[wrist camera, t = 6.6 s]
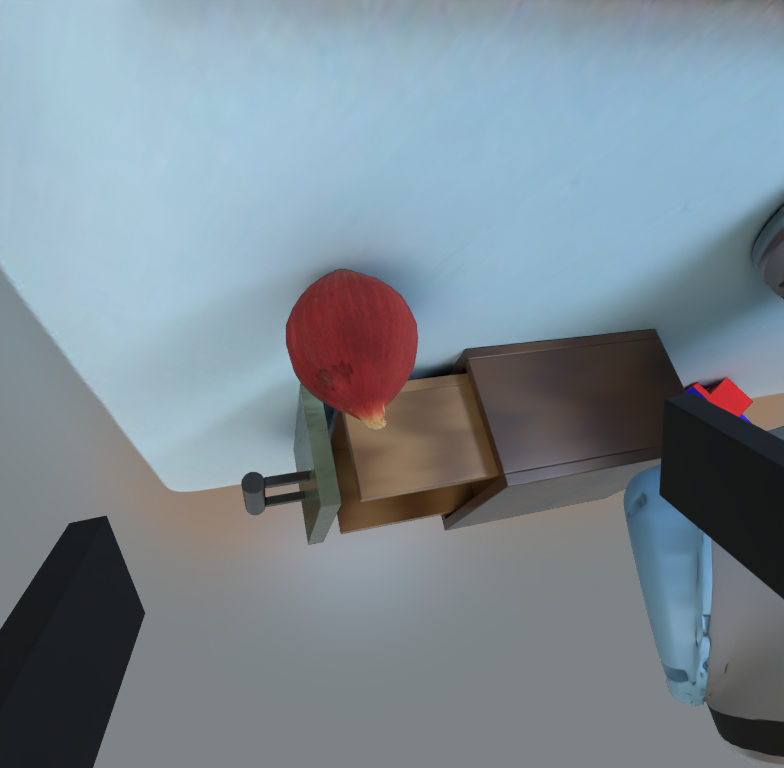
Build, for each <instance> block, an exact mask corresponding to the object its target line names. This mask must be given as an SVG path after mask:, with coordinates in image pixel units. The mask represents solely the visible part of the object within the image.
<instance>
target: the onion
mask: <svg viewBox="0 0 784 768" xmlns="http://www.w3.org/2000/svg"><path fill="white" fill-rule="evenodd" d="M417 343H418V335H417V324H416V321H415V319H414V317H413V315H412V312H411V310H410V308H409V307H408V305H407V304H406V302H405V300H404V299H403V297H402V296H401V295H400V294H399V293H398V292H396V291H395V290H394V289H393V288H392V287H390V286H389V285H387V284H385V283H384V282H382V281H380V280H378V279H377V278H374V277H371V276H367V275H364V274H360V273H357V272H354V271H351V270H346V269H339V270H335V271H334V272H332V273H329V274H327V275H325V276H324V277H322V278H321V279H319V280H318V281H316V282H315V283H313V284H312V285H310V286H309V287H308V288H307V290H306V291H305V292H304V293H303V294H302V295H301V296H300V298H299V299H298V301H297V302H296V304H295V306H294V307H293V309H292V311H291V314H290V316H289V319H288V321H287V324H286V345H287V349H288V353H289V356H290V360H291V363H292V366H293V369H294V372H295V374H296V376H297V377H298V379H299V380H300V382H301V384H302V385H303V386H304V387H305V388H306V389H307V390H308V391H309V392H310V394H312V395H313V396H314V397H316V398H317V399H318V400H320V401H321V402H323V403H325V404H326V405H328V406H330V407H332V408H334V409H336V410H339V411H341V412H344V413H347V414H349V415H351V416H353V417H354V418H357V419H359V420H361V421H362V422H364V423H365V424H366V425H367V426H368V427H369V428H373V429H381V428H384V427H385V425H386V423H387V421H386V418H385V407H386V406H387V405H388V404H389V403H390V402H391V401H392V400H393V399H394V398H395V397H396V396H397V394H398V393H399V392H400V390H401V389H402V388H403V386H404V385H405V384H406V382H407V380H408V378H409V377H410V375H411V372H412V370H413V367H414V364H415V358H416V353H417Z"/></svg>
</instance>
